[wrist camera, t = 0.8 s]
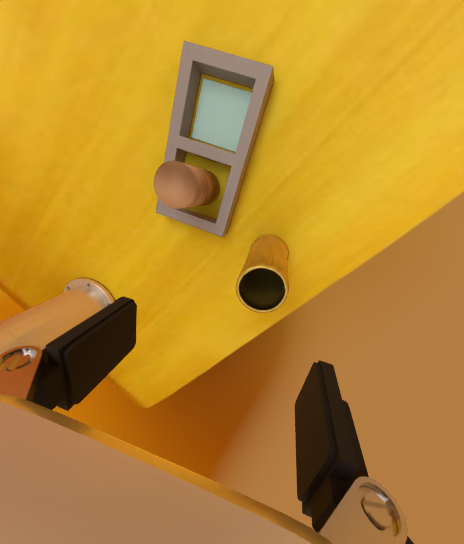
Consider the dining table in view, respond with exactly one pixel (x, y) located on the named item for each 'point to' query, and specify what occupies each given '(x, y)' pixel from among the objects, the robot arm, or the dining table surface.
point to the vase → (264, 275)
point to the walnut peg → (185, 185)
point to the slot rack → (216, 122)
